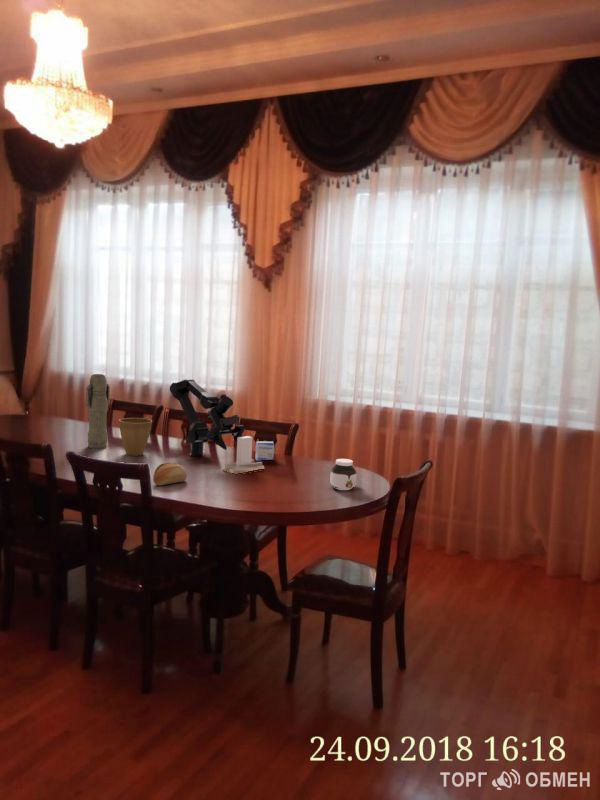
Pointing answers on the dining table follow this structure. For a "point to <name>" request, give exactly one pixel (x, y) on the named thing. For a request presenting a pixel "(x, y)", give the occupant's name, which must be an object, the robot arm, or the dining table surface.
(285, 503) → the dining table surface
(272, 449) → the medicine box
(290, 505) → the dining table surface
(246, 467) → the track base
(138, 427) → the plant pot
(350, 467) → the spread jar
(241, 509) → the dining table surface
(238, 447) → the door panel
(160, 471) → the bread roll
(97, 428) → the stone statue
